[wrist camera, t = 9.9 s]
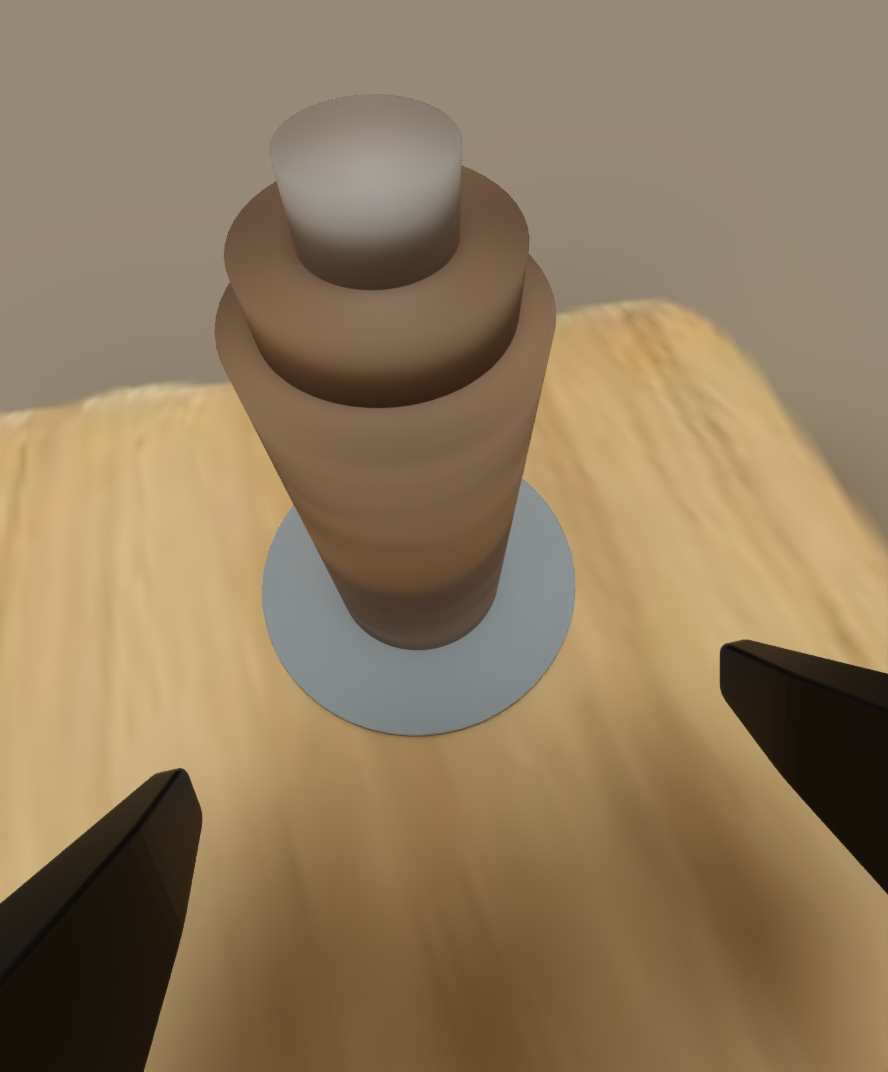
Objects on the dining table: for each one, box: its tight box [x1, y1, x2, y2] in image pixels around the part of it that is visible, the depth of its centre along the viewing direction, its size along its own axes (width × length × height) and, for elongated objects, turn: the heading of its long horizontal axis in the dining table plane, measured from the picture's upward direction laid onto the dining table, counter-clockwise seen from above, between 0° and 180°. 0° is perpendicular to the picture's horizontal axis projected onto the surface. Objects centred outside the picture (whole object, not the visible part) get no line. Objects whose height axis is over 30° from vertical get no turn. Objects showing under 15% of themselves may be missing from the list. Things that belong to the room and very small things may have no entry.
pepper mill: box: [215, 94, 556, 650], centre depth 12 cm, size 6×6×13 cm
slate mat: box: [262, 479, 575, 736], centre depth 19 cm, size 11×11×1 cm
